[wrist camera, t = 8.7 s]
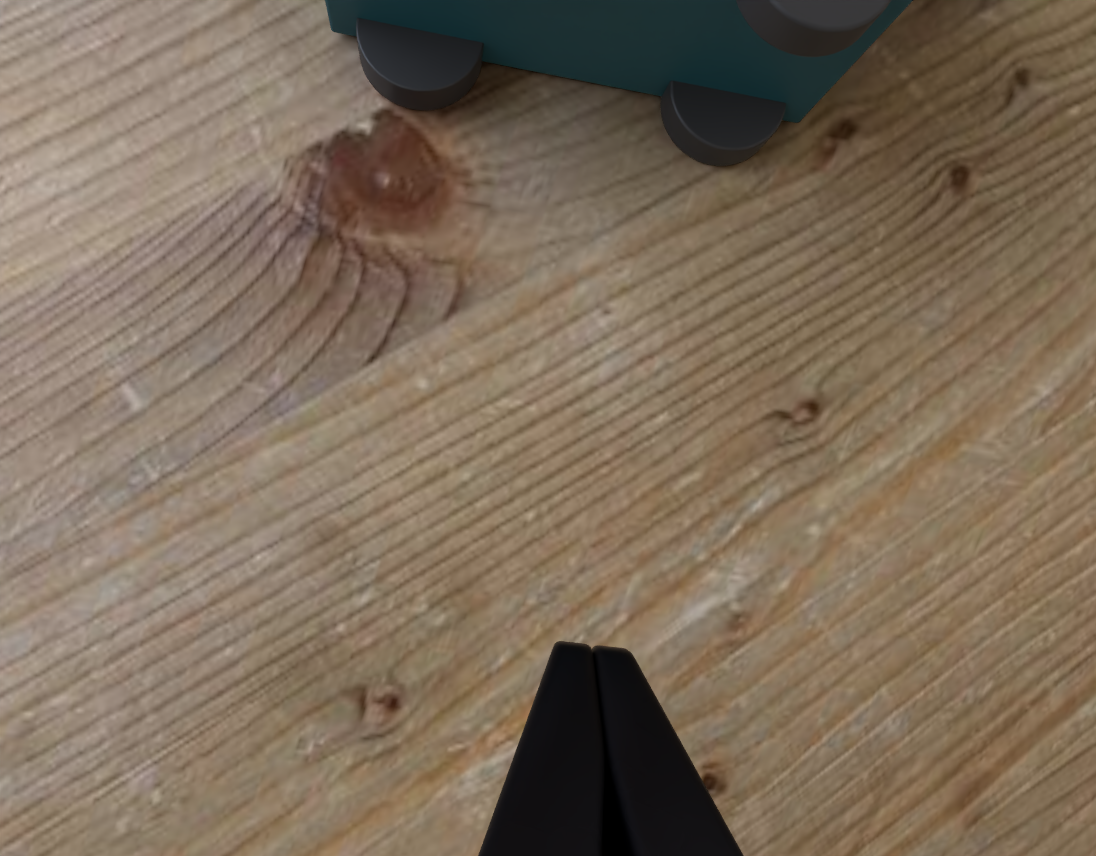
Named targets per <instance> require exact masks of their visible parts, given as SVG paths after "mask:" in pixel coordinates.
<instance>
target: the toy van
mask: <svg viewBox="0 0 1096 856" xmlns="http://www.w3.org/2000/svg"><path fill="white" fill-rule="evenodd" d="M912 1H913V0H325V2H326V7H327V11H328V16H329V21H330V26H331V30H332V31H333V32H337V33H342V34H347V35H352V36H357V42H358V49H359V55H360V60H361V64H362V67H363V70H364V72H365V74H366V76H367V78H368V80H369V81H370V83H371V84H372V85H373V86H374V88H375V89H376V90H377V91H378V92H379V93H380V94H382V95H383V96H384V97H385V98H387V99H388V100H390V101H392V102H394V103H395V104H397V105H400V106H403V107H406V108H410V109H415V110H434V109H439V108H443V107H446V106H448V105H451V104H453V103H454V102H456V101H458V100H459V99H461V98H462V97H463V96H464V95H465V94H466V93H467V92H468V91H469V90H470V89H471V88H472V86H473V85H474V83H475V81H476V80H477V78H478V75H479V72H480V69H481V64H482V61H484V62H489V63H494V64H499V65H504V66H510V67H515V68H520V69H525V70H530V71H535V72H540V73H545V74H550V75H555V76H560V77H566V78H571V79H576V80H581V81H586V82H591V83H596V84H601V85H606V86H611V87H616V88H621V89H627V90H632V91H637V92H642V93H647V94H652V95H657V96H661V102H660V108H661V116H662V120H663V123H664V126H665V129H666V131H667V133H668V135H669V136H670V138H671V139H672V141H673V142H674V143H675V144H676V146H677V147H678V148H679V149H680V150H682V151H683V152H684V153H685V154H687V155H688V156H689V157H691V158H693V159H695V160H697V161H700V162H702V163H706V164H710V165H717V166H726V165H733V164H736V163H740V162H742V161H744V160H747V159H748V158H750V157H751V156H753V155H754V154H755V153H756V152H758V151H759V149H760V148H761V147H762V146H763V145H764V144H765V143H766V142H767V140H768V139H769V138H770V137H771V136H772V135H773V134H774V133H775V132H776V130H777V129H778V127H779V125H780V123H781V121H782V120H784V121H789V122H795V123H797V122H800V121H801V120H802V118H803V117H804V116H805V115H806V114H807V113H808V112H809V111H810V110H811V109H812V108H813V107H814V106H815V105H816V103H817V102H818V101H819V100H820V99H821V98H822V97H823V96H824V95H825V94H826V93H827V92H828V91H829V90H830V89H831V87H832V86H833V85H834V84H835V83H836V82H837V81H838V80H839V79H840V78H841V77H842V76H843V75H844V74H845V73H846V71H847V70H848V69H849V68H850V67H851V66H852V65H853V64H854V63H855V62H856V61H857V60H858V59H859V58H860V56H861V55H862V54H863V53H864V52H865V51H866V50H867V49H868V48H869V47H870V46H871V45H872V44H873V43H874V42H875V40H876V39H877V38H878V37H879V36H880V35H881V34H882V33H883V32H884V31H885V30H886V29H887V28H888V27H889V26H890V24H891V23H892V22H893V21H894V20H895V19H896V18H897V17H898V16H899V15H900V14H901V13H902V12H903V11H904V9H905V8H906V7H907V6H908V5H909V4H910V3H911V2H912Z"/></svg>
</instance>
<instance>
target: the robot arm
mask: <svg viewBox="0 0 1096 856" xmlns="http://www.w3.org/2000/svg"><path fill="white" fill-rule="evenodd" d="M478 856H743V854H742V852H741V850H740V848H739V847H738V845H737V843H736V841H735V839H734V838H733V836H732V834H731V832H730V830H729V828H728V827H727V825H726V823H725V821H724V819H723V818H722V816H721V814H720V812H719V810H718V809H717V807H716V805H715V803H714V801H713V799H712V798H711V796H710V794H709V792H708V790H707V789H706V787H705V785H704V783H703V781H702V779H701V778H700V776H699V774H698V772H697V770H696V769H695V767H694V765H693V763H692V761H691V760H690V758H689V756H688V754H687V752H686V750H685V749H684V747H683V745H682V743H681V741H680V740H679V738H678V736H677V734H676V732H675V731H674V729H673V727H672V725H671V723H670V721H669V720H668V718H667V716H666V714H665V712H664V711H663V709H662V707H661V705H660V703H659V701H658V700H657V698H656V696H655V694H654V692H653V691H652V689H651V687H650V685H649V683H648V682H647V680H646V678H645V676H644V674H643V672H642V671H641V669H640V667H639V665H638V663H637V662H636V660H635V658H634V656H633V655H632V653H631V652H629V651H628V650H627V649H624V648H617V647H608V646H595V647H593V648H592V649H591V647H590V646H589V645H587V644H582V643H573V642H564V641H558V642H556V643H555V645H554V647H553V649H552V652H551V655H550V658H549V660H548V663H547V666H546V669H545V672H544V674H543V677H542V680H541V683H540V685H539V688H538V691H537V694H536V697H535V699H534V702H533V705H532V708H531V710H530V713H529V716H528V719H527V722H526V724H525V727H524V730H523V733H522V736H521V738H520V741H519V744H518V747H517V749H516V752H515V755H514V758H513V761H512V763H511V766H510V769H509V772H508V774H507V777H506V780H505V783H504V786H503V788H502V791H501V794H500V797H499V799H498V802H497V805H496V808H495V811H494V813H493V816H492V819H491V822H490V825H489V827H488V830H487V833H486V836H485V838H484V841H483V844H482V847H481V850H480V852H479V855H478Z"/></svg>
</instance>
